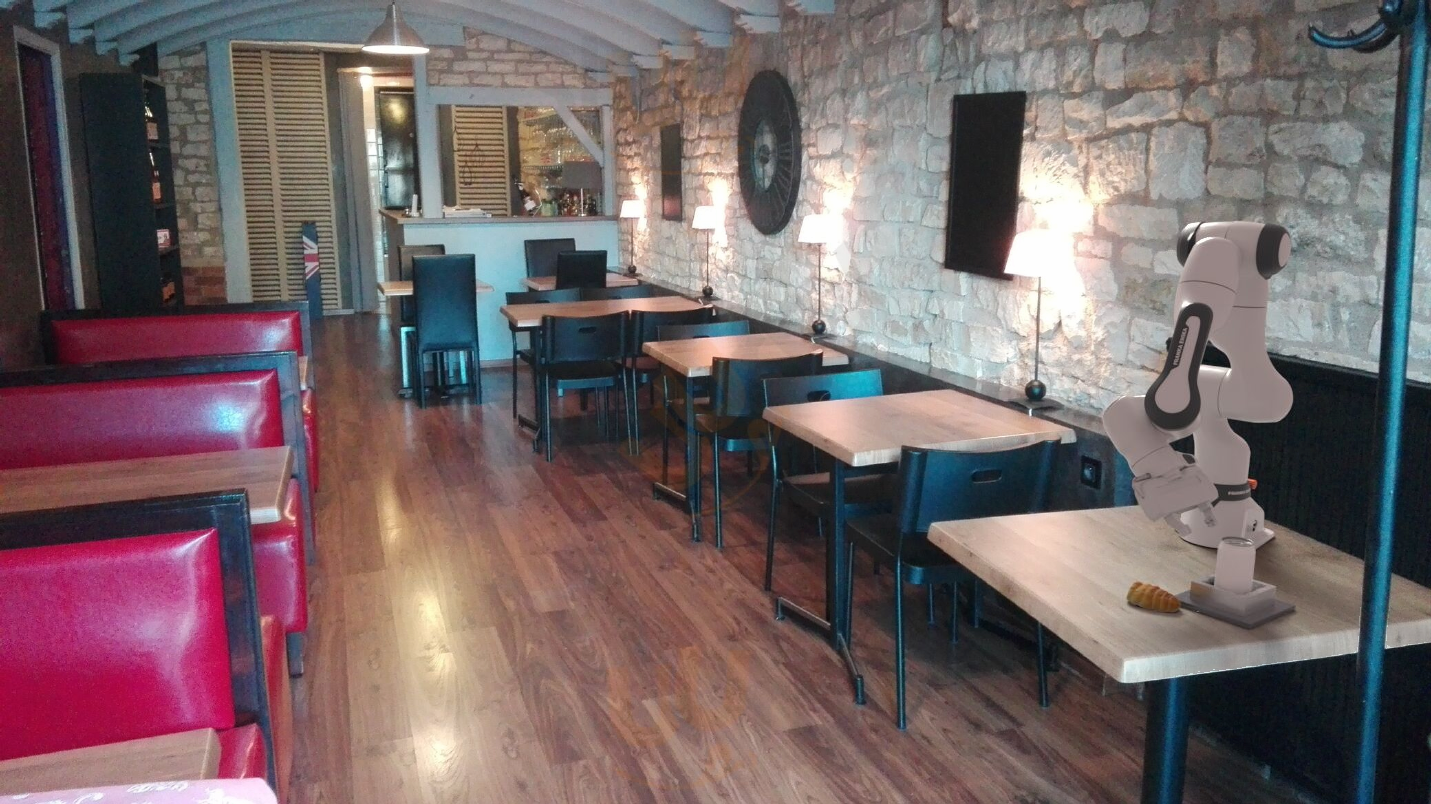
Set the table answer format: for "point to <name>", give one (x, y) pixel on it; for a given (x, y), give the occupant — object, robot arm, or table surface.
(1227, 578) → the can
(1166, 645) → the table surface
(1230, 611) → the collar
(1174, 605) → the pastry
